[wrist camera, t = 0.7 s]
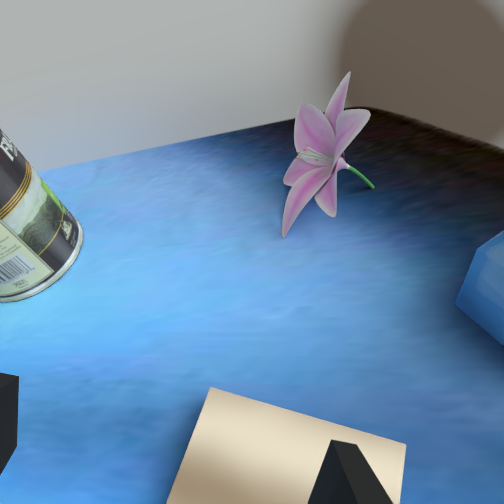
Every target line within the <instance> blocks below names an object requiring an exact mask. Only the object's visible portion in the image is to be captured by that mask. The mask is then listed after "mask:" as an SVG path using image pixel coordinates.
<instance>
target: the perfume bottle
mask: <svg viewBox="0 0 504 504" xmlns="http://www.w3.org/2000/svg"><path fill="white" fill-rule="evenodd" d="M455 305H456V306H457V307H458V308H460V309H461V310H462V311H463V312H464V313H465V314H467V315H468V316H469V317H470V318H471V319H472V320H473V321H475V322H476V323H477V324H478V325H479V326H480V327H482V328H483V329H484V330H485V331H486V332H487V333H489V334H490V335H491V336H492V337H493V338H494V339H496V340H497V341H498V342H499V343H500V344H501V345H503V346H504V230H503V231H502V232H500V233H499V234H498V235H496V236H495V237H493V238H492V239H491V240H489V241H488V242H486V243H485V244H483V245H482V246H481V247H479V248H478V249H477V250H476V253H475V255H474V258H473V260H472V263H471V265H470V268H469V270H468V273H467V275H466V278H465V280H464V283H463V285H462V288H461V290H460V293H459V295H458V298H457V300H456V303H455Z"/></svg>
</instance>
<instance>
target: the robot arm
mask: <svg viewBox="0 0 504 504" xmlns="http://www.w3.org/2000/svg"><path fill="white" fill-rule="evenodd" d="M18 390H19V376H14V375H9V374H4V373H0V475H1V473H2V471H3V469H4V468H5V466H6V464H7V462H8V461H9V459H10V457H11V455H12V454H13V452H14V450H15V448H16V447H17V424H18ZM308 504H393V502H392V500H391V499H390V497H389V496H388V494H387V492H386V491H385V489H384V488H383V486H382V484H381V483H380V481H379V480H378V478H377V476H376V475H375V473H374V471H373V470H372V468H371V467H370V465H369V463H368V462H367V460H366V458H365V457H364V455H363V454H362V452H361V450H360V449H359V447H358V446H357V444H353V443H348V442H343V441H338V440H333V439H331V441H330V444H329V446H328V449H327V452H326V454H325V457H324V460H323V462H322V465H321V468H320V470H319V473H318V476H317V479H316V481H315V484H314V487H313V489H312V492H311V495H310V497H309V500H308Z"/></svg>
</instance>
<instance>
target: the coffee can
mask: <svg viewBox="0 0 504 504" xmlns="http://www.w3.org/2000/svg"><path fill="white" fill-rule="evenodd" d="M82 242H83V231H82V227H81V225H80V223H79V222H78V220H77V219H76V218H75V217H74V216H72V214H71V213H70V212H69V211H68V210H67V209H66V207H65V206H64V205H63V204H62V203H61V201H60V200H59V199H58V198H57V196H56V195H55V194H54V193H53V192H52V191H51V189H50V188H49V187H48V186H47V184H46V183H45V182H44V181H43V180H42V178H41V177H40V176H39V175H38V174H37V172H36V171H35V170H34V169H33V167H32V166H31V165H30V164H29V162H28V161H27V160H26V159H25V158H24V157H23V155H22V154H21V153H20V152H19V151H18V150H17V148H16V147H15V145H14V144H13V143H12V142H11V141H10V139H9V138H8V137H7V136H6V135H5V134H4V132H3V131H2V130H1V129H0V302H12V301H18V300H21V299H25V298H28V297H31V296H33V295H35V294H37V293H39V292H41V291H43V290H44V289H46V288H48V287H49V286H50V285H52V284H53V283H54V282H56V281H57V280H58V279H59V278H61V276H62V275H63V274H64V273H65V272H66V271H67V270H68V269H69V268H70V266H71V265H72V264H73V262H74V261H75V259H76V258H77V256H78V254H79V251H80V249H81V246H82Z"/></svg>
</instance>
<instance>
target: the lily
mask: <svg viewBox="0 0 504 504" xmlns="http://www.w3.org/2000/svg"><path fill="white" fill-rule="evenodd" d="M350 74H351V73H350V72H349V73H348V74H347V75H346V76H345V77H344V79H343V80H342V82H341V83H340V85H339V86H338V88H337V89H336V91H335V93H334V95H333V97H332V98H331V100H330V102H329V105H328V107H327V109H326V111H325V115H324V114H323V113H322V112H321V111H320V110H318V109H317V108H316V107H314V106H312V105H310V104H308V103H306V102H301V103H300V104H299V107H298V109H297V114H296V120H295V129H294V142H295V147H296V151H297V153H298V154H299V155H298V156H297V157H296V158H295V159H294V161H293V162H292V164H291V165H290V167H289V168H288V170H287V172H286V174H285V176H284V179H283V183H284V184H285V185H288V186H292V188H291V190H290V192H289V194H288V197H287V200H286V203H285V209H284V214H283V222H282V236H283V238H285V236H286V234H287V233H288V231H289V229H290V228H291V226H292V224H293V223H294V221H295V219H296V218H297V216H298V214H299V213H300V212H301V210H302V209H303V208H304V206H305V205H306V204H307V203H308V201H309V200H310V199H311V198H312V197H313V196H314V194H315V201H316V202H317V204H318V205H319V206H320V208H321V209H322V210H323V211H324V212H325V213H327V214H328V215H329V216H331V217H336V213H337V171H339V170H340V169H343V168H345V169H348V170H350V171H352V172H353V173H355V174H356V175H358V176H359V177H360V178H361V179H362V180H363V181H364V182H365V183H366V184H367V185H368V186H369V187H370V188H371V189H373V188H374V186H373V185H372V184H371V182H370V181H369V180H368V179H367V178H365V177H364V176H363V175H362V174H361V173H360V172H358V171H357V170H356V169H354V168H353V167H351V166H349V165H348V164H346V162H345V158H344V152H343V151H344V150H345V149H346V147H347V146H348V145H349V144H350V142H351V141H352V140H353V139H354V138H355V137H356V135H357V134H358V133H359V132H360V131H361V129H362V128H363V127H364V126H365V124H366V123H367V122H368V120H369V118H370V115H371V114H370V112H369V111H368V110H364V109H352V110H346V111H343V110H344V104H345V99H346V94H347V89H348V83H349V79H350ZM332 174H333V175H332ZM331 175H332V176H331ZM330 176H331V177H330ZM329 177H330V178H329Z"/></svg>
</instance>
